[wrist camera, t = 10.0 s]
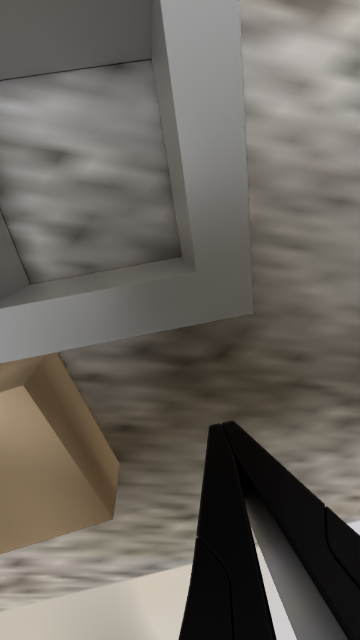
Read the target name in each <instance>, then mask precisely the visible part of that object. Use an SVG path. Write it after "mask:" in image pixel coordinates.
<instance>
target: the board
mask: <svg viewBox="0 0 360 640" xmlns="http://www.w3.org/2000/svg"><path fill="white" fill-rule="evenodd" d="M119 467H120V464H119V462H118V460H117V458H116V457H115V455H114V453H113V451H112V450H111V448H110V446H109V444H108V443H107V441H106V439H105V437H104V435H103V434H102V432H101V430H100V428H99V427H98V425H97V423H96V421H95V419H94V418H93V416H92V414H91V412H90V411H89V409H88V407H87V405H86V404H85V402H84V400H83V398H82V396H81V395H80V393H79V391H78V389H77V388H76V386H75V384H74V382H73V380H72V379H71V377H70V375H69V373H68V372H67V370H66V368H65V366H64V365H63V363H62V361H61V359H60V357H59V356H58V354H57V352H56V353H50V354H45V355H40V356H35V357H30V358H25V359H20V360H15V361H10V362H5V363H0V554H3V553H6V552H9V551H12V550H16V549H19V548H22V547H25V546H29V545H32V544H35V543H38V542H41V541H45V540H48V539H51V538H54V537H57V536H61V535H64V534H67V533H70V532H73V531H77V530H80V529H83V528H86V527H89V526H93V525H96V524H99V523H102V522H106V521H109V520H112V519H113V516H114V508H115V500H116V492H117V483H118V475H119Z"/></svg>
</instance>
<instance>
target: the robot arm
mask: <svg viewBox="0 0 360 640" xmlns="http://www.w3.org/2000/svg"><path fill="white" fill-rule="evenodd" d="M250 524H251V526H250ZM251 527H252V529H253V532H254V534H255V537H256V539H257V542H258V544H259V547H260V549H261V551H262V554H263V556H264V559H265V561H266V564H267V566H268V569H269V571H270V574H271V576H272V579H273V581H274V584H275V586H276V589H277V591H278V594H279V596H280V599H281V601H282V603H283V606H284V608H285V611H286V613H287V616H288V618H289V621H290V623H291V626H292V628H293V631H294V633H295V636H296V638H297V640H360V535H359V534H357V533H356V532H355V531H354V530H353V529H352V528H350V527H349V526H348V525H347V524H346V523H345V522H344V521H343V520H341V519H340V518H339V517H338V516H337V515H336V514H335V513H334V512H333V511H332V510H331V509H330V508H328V507H325V504H324V503H323V502H322V501H321V500H320V499H318V498H317V497H316V496H315V495H314V494H313V493H312V492H311V491H310V490H309V489H308V488H306V487H305V486H304V485H303V484H302V483H301V482H300V481H299V480H298V479H297V478H296V477H294V476H293V475H292V474H291V473H290V472H289V471H288V470H287V469H286V468H285V467H284V466H282V465H281V464H280V463H279V462H278V461H277V460H276V459H275V458H274V457H273V456H272V455H270V454H269V453H268V452H267V451H266V450H265V449H264V448H263V447H262V446H261V445H260V444H258V443H257V442H256V441H255V440H254V439H253V438H252V437H251V436H250V435H249V434H248V433H246V432H245V431H244V430H243V429H242V428H241V427H240V426H239V425H238V424H237V423H236V422H234V421H227V422H223V423H222V425H221V424H220V423H218V424H214V425H210V426H209V431H208V440H207V449H206V457H205V466H204V475H203V483H202V492H201V500H200V509H199V518H198V526H197V535H196V536H197V538H196V542H195V551H194V559H193V565H192V573H191V579H190V586H189V591H188V596H187V601H186V606H185V612H184V617H183V621H182V626H181V631H180V635H179V640H276V635H275V631H274V627H273V622H272V618H271V613H270V609H269V605H268V600H267V596H266V592H265V587H264V583H263V578H262V574H261V570H260V565H259V561H258V557H257V552H256V548H255V543H254V539H253V535H252V530H251Z"/></svg>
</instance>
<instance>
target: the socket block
mask: <svg viewBox="0 0 360 640" xmlns="http://www.w3.org/2000/svg"><path fill="white" fill-rule="evenodd" d="M144 59H152V65H153V72H154V78H155V85H156V91H157V98H158V104H159V111H160V117H161V124H162V130H163V137H164V143H165V150H166V156H167V163H168V169H169V176H170V182H171V189H172V195H173V202H174V208H175V215H176V221H177V228H178V234H179V241H180V247H181V254H182V257H178V258H173V259H167V260H162V261H156V262H151V263H145V264H140V265H134V266H129V267H123V268H118V269H112V270H107V271H101V272H96V273H90V274H85V275H79V276H74V277H68V278H63V279H57V280H52V281H47V282H41V283H36V284H30V283H29V280H28V278H27V275H26V273H25V271H24V268H23V266H22V263H21V261H20V258H19V256H18V253H17V251H16V248H15V246H14V244H13V241H12V239H11V236H10V234H9V231H8V229H7V226H6V224H5V221H4V219H3V217H2V214H1V212H0V363H5V362H10V361H15V360H20V359H25V358H30V357H35V356H40V355H45V354H50V353H56V352H61V351H66V350H71V349H76V348H81V347H86V346H91V345H96V344H101V343H106V342H112V341H117V340H122V339H127V338H132V337H137V336H142V335H147V334H152V333H157V332H162V331H168V330H173V329H178V328H183V327H188V326H193V325H198V324H203V323H208V322H213V321H218V320H224V319H229V318H234V317H239V316H244V315H249V314H254V307H253V286H252V264H251V242H250V220H249V199H248V177H247V155H246V133H245V112H244V90H243V68H242V47H241V25H240V3H239V0H0V80H2V79H9V78H16V77H24V76H31V75H38V74H45V73H52V72H59V71H66V70H73V69H80V68H88V67H95V66H102V65H109V64H116V63H123V62H130V61H137V60H144Z"/></svg>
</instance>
